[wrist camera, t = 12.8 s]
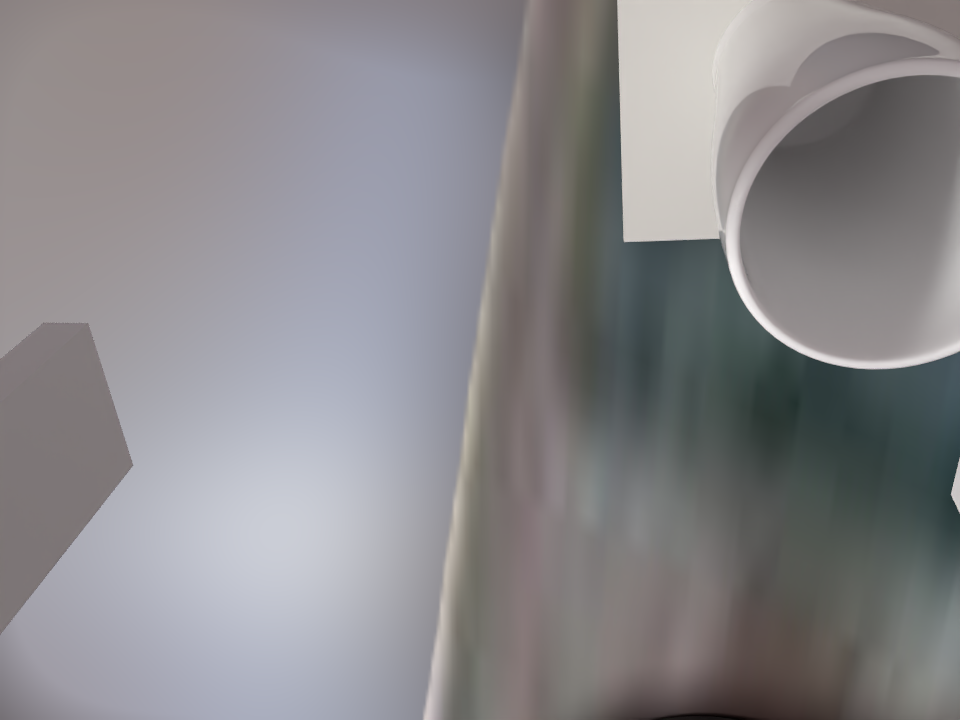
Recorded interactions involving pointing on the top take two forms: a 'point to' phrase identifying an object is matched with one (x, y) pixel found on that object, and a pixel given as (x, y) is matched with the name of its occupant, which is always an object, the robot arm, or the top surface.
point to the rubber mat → (687, 107)
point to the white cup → (841, 178)
